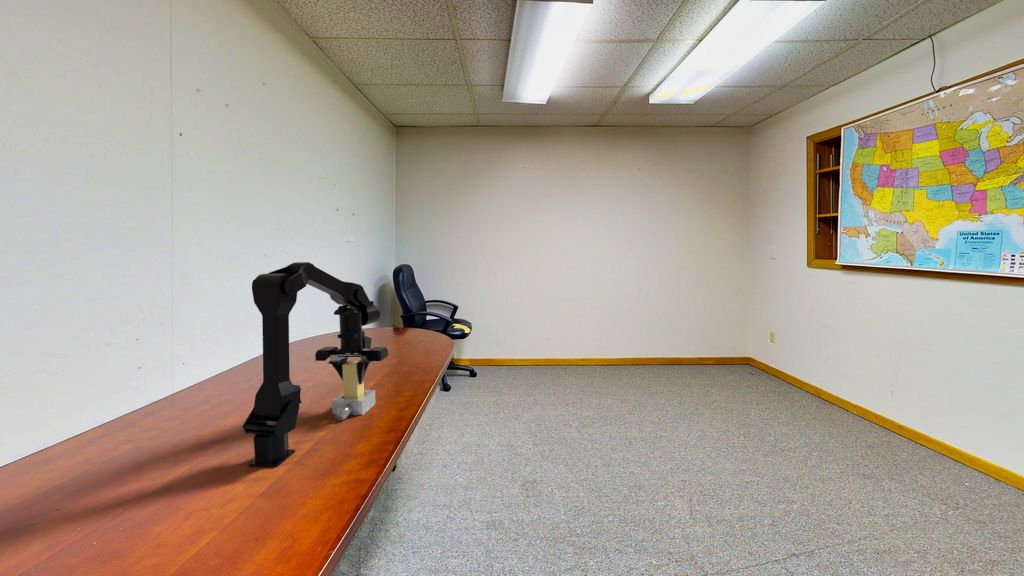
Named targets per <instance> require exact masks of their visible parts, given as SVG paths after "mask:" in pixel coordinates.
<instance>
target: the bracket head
mask: <svg viewBox="0 0 1024 576" xmlns="http://www.w3.org/2000/svg"><path fill="white" fill-rule="evenodd" d="M376 404H377V403H376V389H375V390H374V389H369V388H364V395H363V396H362V397H361V398H360V399H346V398H344V391H343V392H341V393H340V394H339V395H338V396H336V397H335V398H334V399H331V405H332V406H331V408H332V415H334V417H335V419H336V420H337V421H338V422H339V421H340V422H343V421H344V420H345V419H347V418H348V417H349V416H350V415H351V416H364V415H365V414H366V413H367V412H368V411H369V410H370V409H372V408H373V407H374V405H376Z"/></svg>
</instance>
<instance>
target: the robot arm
mask: <svg viewBox="0 0 1024 576" xmlns="http://www.w3.org/2000/svg"><path fill="white" fill-rule="evenodd" d="M307 285H309V286H310V287H312V288H315V289H317V290H319V291H322V292H323V293H325V294H328V295H329V296H330V300H331V301H333V302H334V303H336V304H337V305H338V307H337V309H335V310H334V311H333V315H335V316H339V333H338V334H337V339H339V340H340V341H339V342H340V348H338V346H325V347H322V348H319V349H317V350H316V352H315V354H314V361H316V362H317V361H318V362H326V361H327V360H328V359H329V361H328V364H329V365H331V366H332V367H333V369H335V371H336V372H337V374H338V376H339V377H340V379H341V381H342V382H343V370H342V365H343V364H345V363H346V362H348V360H349V358H360V360H358V361H359V362H357V369H358V380H359V384H362V383H363V380H364V379H365V376H366V373H367V370H368V367H369V366H370V363H372V362H381V361H383V360H384V359H386V358H387V357H389V350H388V348H387V347H386V346H373V347H372V338H373V337H370V336H367V335H366V334H365V330H363V327H364V326H367V325H368V326H369V325H371V324H375V323H377V322H378V321H379V320H380V317H381V312H380V309H379V307H377V306H376V305H375V301H374V300H370V298H369V297H368V295H367V293H366V291H365V290H364V286H362V284H359V283H356V282H355V283H354V282H350V281H344V280H341V279H339V278H338V277H335V276H333V275H332V274H329V273H328V272H327V271H324V270H322V269H321V268H318V267H317V266H315V264H314V263H311V262H309V261H305V262H304V261H302V262H301V261H300V262H299V261H298V262H296V261H295V262H292V263H290V264H288V265H286V266H284V267H281V268H278V269H276V270H272V271H269V272H268V273H261V274H259V275H257V276H256V277H255V279H253V280H252V282H251V292H252V297H253V298H252V299H253V303H254V305H255V306H256V308H257V309H258V312H259V313H260V314H261V315H262V316H261V318H262V319H261V321H262V322H261V323H262V326H261V327H262V377H263V378H262V379H263V380H262V383H261V385H260V386H259V388H258V390H257V392H256V393H255V395H254V396H255V397H254V403H253V408H252V410H251V411H250V412H249V415H248V416H247V418H246V419H245V421H244V423H243V424H242V430H243V432H244V433H245V434H247V435H248V434H250V435H254V436H253V450H254V458H253V459H252V460H250V461H249V462H248V463H247V464H248V466H249V467H278V466H279V465H281V464H282V463H283V462H284V461H286V460H287V459H288V458H290V457H291V456H292V455H293V454H295V453H296V449H293V448H292V449H291V448H290V445H289V434H288V433H289V432H291V431H293V430H295V429H296V426H297V420H298V415H299V411H300V404H302V400H301V390H302V388H301V385H299V384H294V383H293V382H292V380H291V377H290V373H291V372H290V371H291V370H290V313H291V311H292V310H293V308H294V306H295V305H296V303H297V298H298V292H300V291H301V290H303V289H305V287H306V286H307ZM364 381H365V380H364Z"/></svg>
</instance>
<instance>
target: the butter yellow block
mask: <svg viewBox="0 0 1024 576" xmlns="http://www.w3.org/2000/svg"><path fill="white" fill-rule="evenodd" d="M359 361H360V360H349V361H348V360H347V362H346V363H345V364H343V365H342V370H343V381H342V384H343V385H342V388H343V392H344V398H346V399H360V398H361V397H362V396H363V395H364V390H365V385H364V383H365V382H364V381H365V380H363V383H362V384H359V380H358V369H357V362H359Z"/></svg>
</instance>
